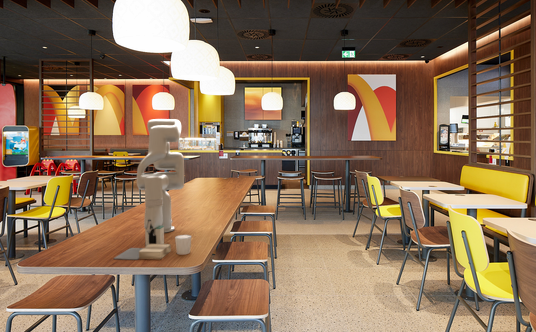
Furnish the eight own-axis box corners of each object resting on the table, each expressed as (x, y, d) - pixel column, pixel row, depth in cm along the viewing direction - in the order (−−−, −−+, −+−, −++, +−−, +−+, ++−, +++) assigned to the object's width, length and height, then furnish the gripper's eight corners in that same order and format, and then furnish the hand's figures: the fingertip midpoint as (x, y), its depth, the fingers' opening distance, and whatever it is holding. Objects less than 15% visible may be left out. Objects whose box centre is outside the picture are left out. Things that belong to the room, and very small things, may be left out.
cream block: (149, 244, 157) (149, 225, 156) (164, 244, 156) (163, 225, 155) (145, 247, 153) (145, 227, 152) (160, 247, 152) (160, 227, 151)
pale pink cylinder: (172, 252, 145) (171, 236, 144) (186, 249, 150) (186, 233, 149) (180, 256, 140) (180, 239, 140) (194, 252, 145) (194, 236, 144)
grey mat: (130, 248, 150) (130, 247, 150) (152, 249, 149) (152, 248, 149) (113, 259, 136) (113, 258, 136) (137, 259, 135) (137, 259, 135)
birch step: (150, 250, 148) (150, 243, 148) (170, 250, 147) (170, 244, 147) (139, 258, 137) (138, 251, 137) (160, 259, 136) (160, 252, 136)
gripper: (153, 199, 162) (154, 237, 163) (137, 206, 145) (138, 247, 146) (169, 200, 161) (169, 237, 162) (154, 206, 144) (155, 248, 146)
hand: (154, 242), depth 154 cm, fingers closed on cream block, 4 cm apart
